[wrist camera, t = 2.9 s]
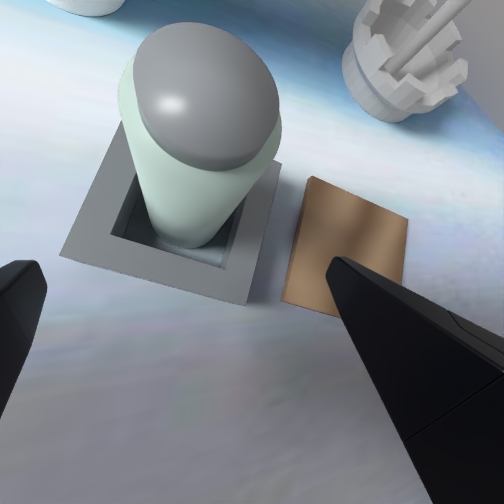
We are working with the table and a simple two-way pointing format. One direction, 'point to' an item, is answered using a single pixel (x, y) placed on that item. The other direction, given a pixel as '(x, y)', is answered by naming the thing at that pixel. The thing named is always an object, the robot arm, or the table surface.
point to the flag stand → (403, 57)
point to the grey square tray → (157, 261)
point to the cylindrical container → (88, 6)
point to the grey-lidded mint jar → (197, 127)
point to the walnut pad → (340, 243)
